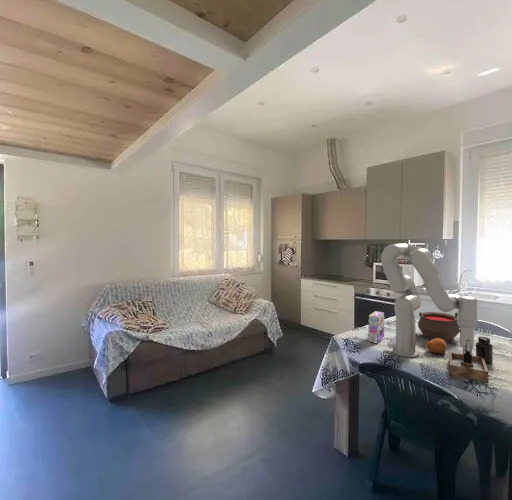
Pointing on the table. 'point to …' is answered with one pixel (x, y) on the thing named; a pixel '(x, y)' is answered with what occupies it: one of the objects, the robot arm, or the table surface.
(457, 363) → the wooden rectangular frame
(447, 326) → the brown cooking pot
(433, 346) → the potato
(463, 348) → the peg
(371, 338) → the candy box
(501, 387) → the table surface
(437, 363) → the table surface
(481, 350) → the supplement bottle
